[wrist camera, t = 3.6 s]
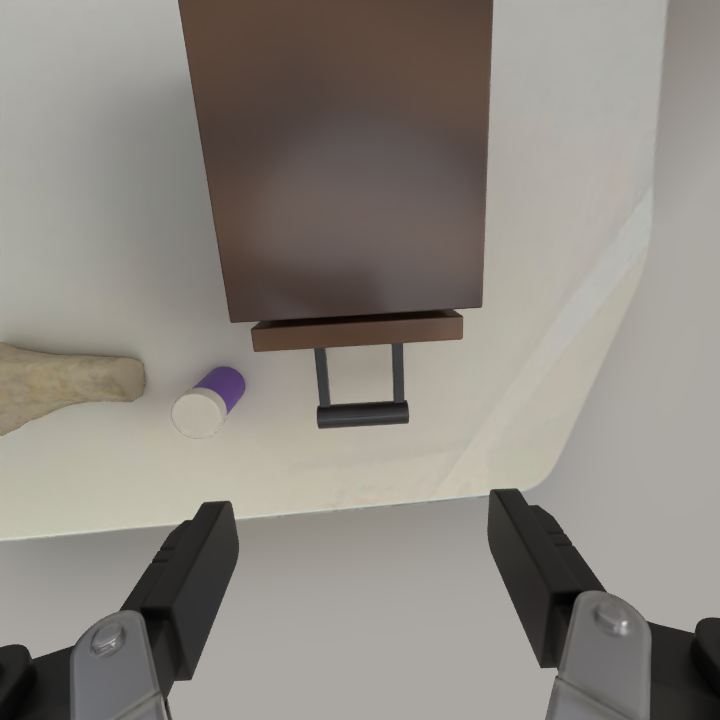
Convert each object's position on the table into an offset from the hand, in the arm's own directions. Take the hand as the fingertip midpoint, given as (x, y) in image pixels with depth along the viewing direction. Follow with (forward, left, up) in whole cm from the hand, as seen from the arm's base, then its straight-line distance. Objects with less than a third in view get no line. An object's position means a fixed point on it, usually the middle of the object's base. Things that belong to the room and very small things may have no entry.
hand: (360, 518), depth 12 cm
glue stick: (-10, -1, -17) cm, 19 cm away
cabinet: (0, +12, -17) cm, 20 cm away
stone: (-21, 0, -17) cm, 27 cm away
